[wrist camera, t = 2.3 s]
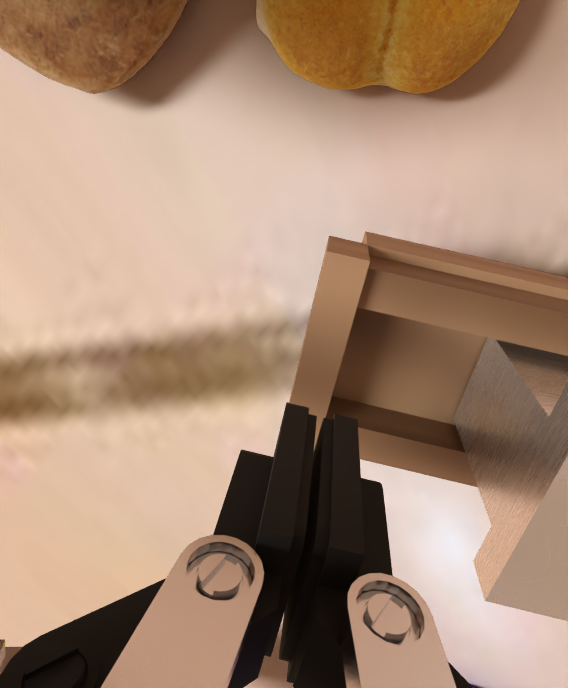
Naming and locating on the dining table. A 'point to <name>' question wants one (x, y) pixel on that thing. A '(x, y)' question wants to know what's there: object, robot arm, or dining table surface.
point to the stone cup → (87, 37)
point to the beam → (415, 343)
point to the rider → (520, 473)
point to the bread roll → (382, 39)
